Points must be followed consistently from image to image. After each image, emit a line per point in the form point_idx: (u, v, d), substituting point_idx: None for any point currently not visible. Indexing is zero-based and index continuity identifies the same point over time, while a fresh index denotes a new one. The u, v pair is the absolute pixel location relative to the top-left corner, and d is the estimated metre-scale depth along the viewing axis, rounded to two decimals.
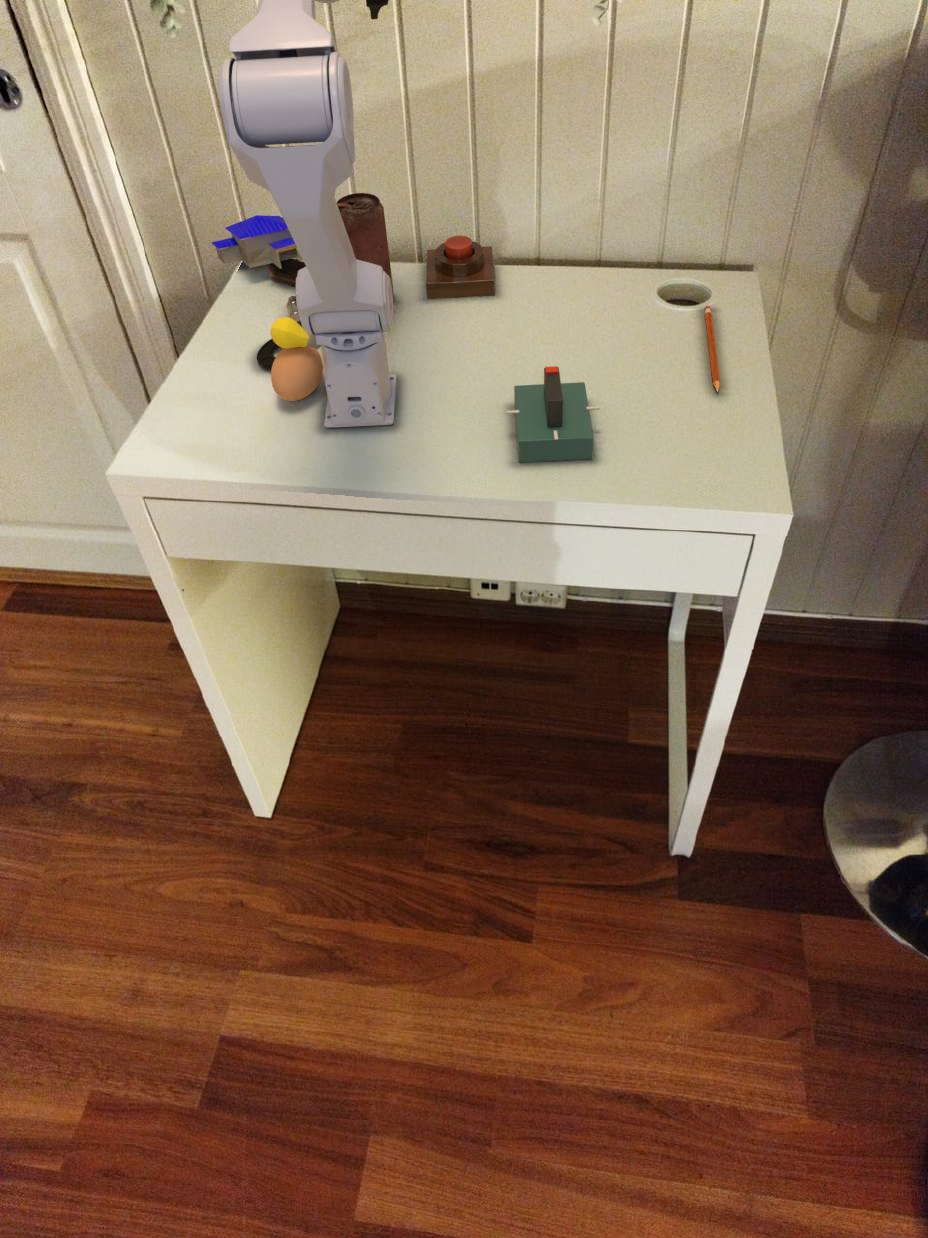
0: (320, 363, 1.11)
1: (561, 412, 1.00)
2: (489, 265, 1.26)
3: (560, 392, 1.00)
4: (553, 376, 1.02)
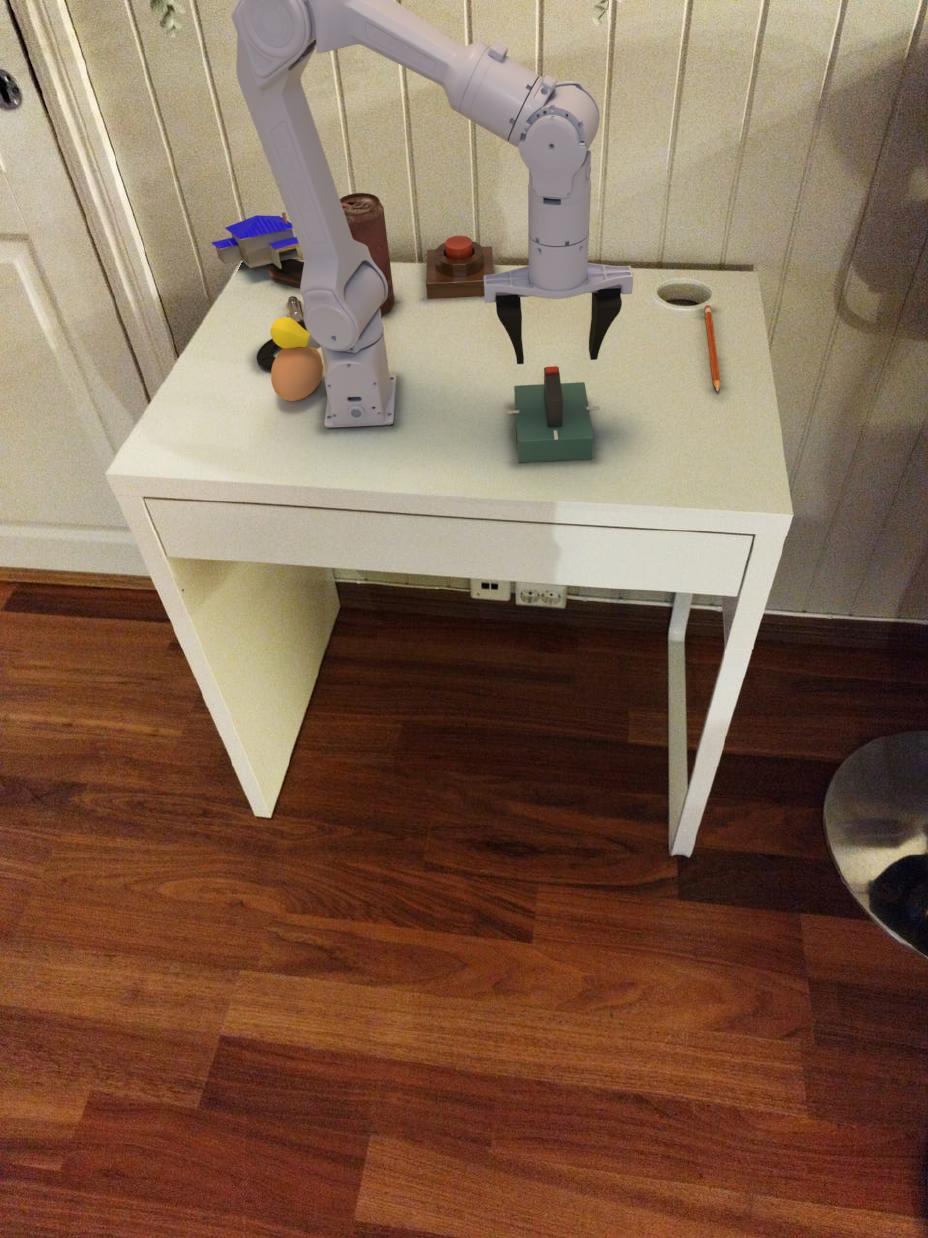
0: (320, 363, 1.11)
1: (561, 412, 1.00)
2: (489, 265, 1.26)
3: (560, 392, 1.00)
4: (553, 376, 1.02)
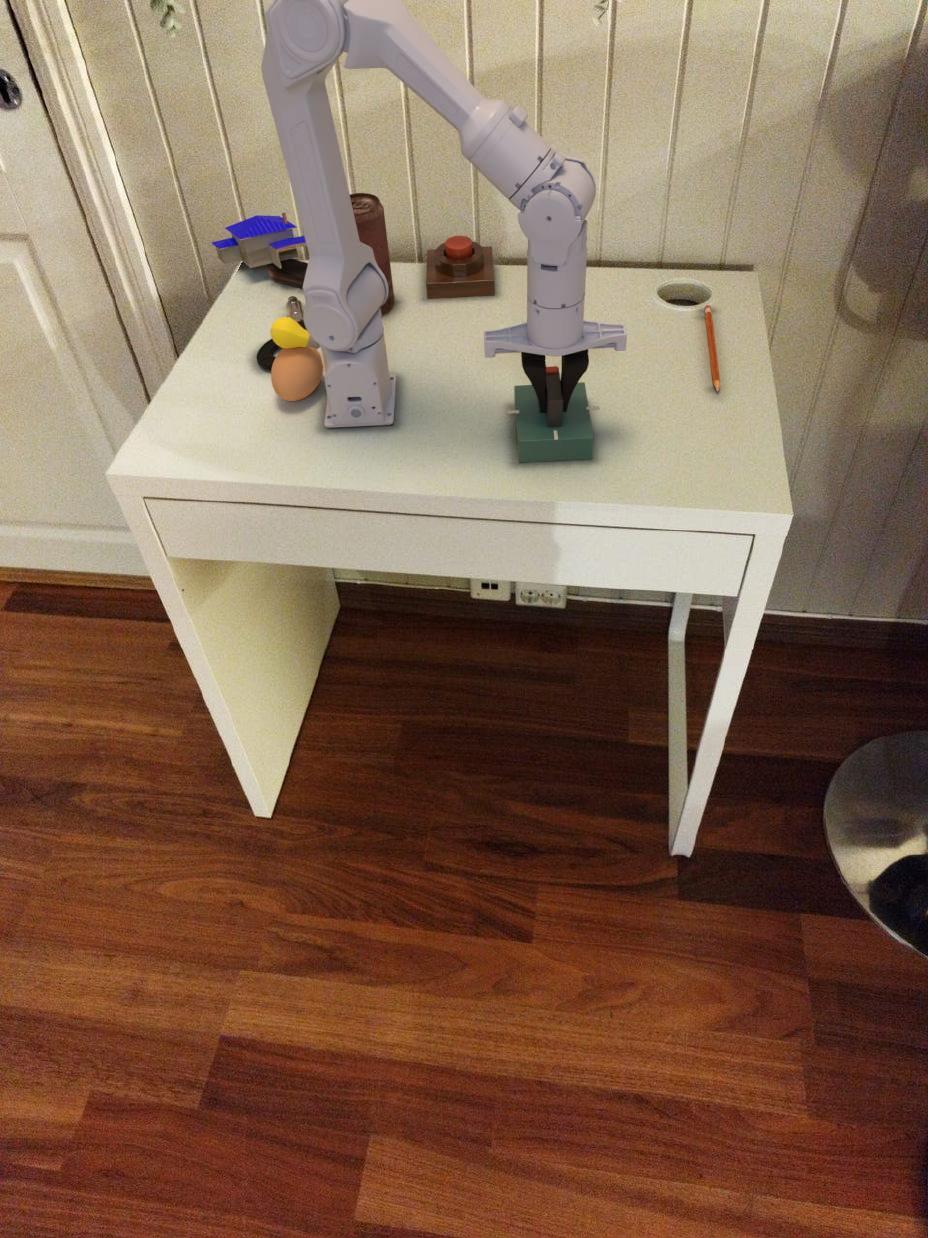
0: (320, 363, 1.11)
1: (561, 412, 1.00)
2: (489, 265, 1.26)
3: (560, 392, 1.00)
4: (553, 376, 1.02)
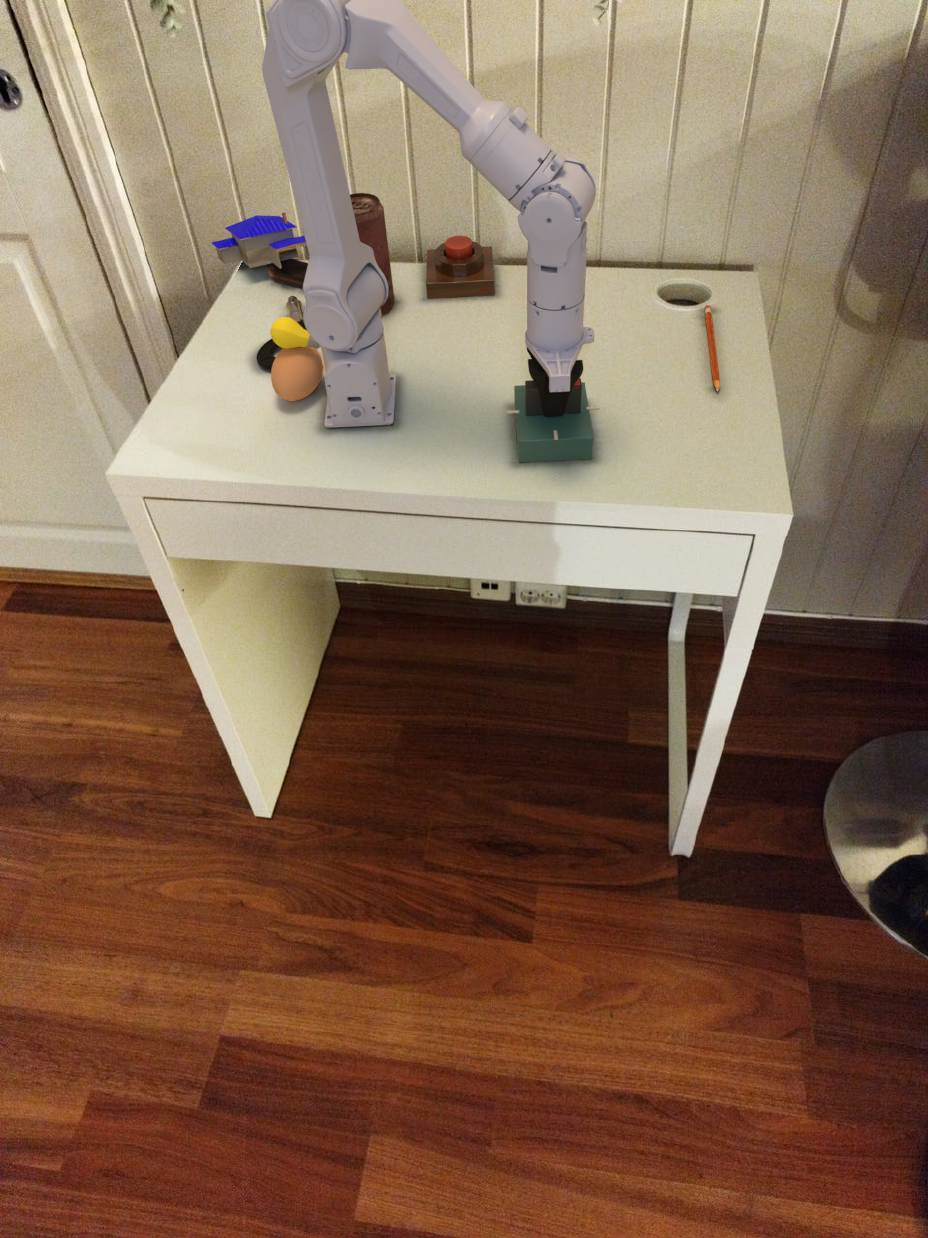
0: (320, 363, 1.11)
1: (525, 400, 1.02)
2: (489, 265, 1.26)
3: None
4: None
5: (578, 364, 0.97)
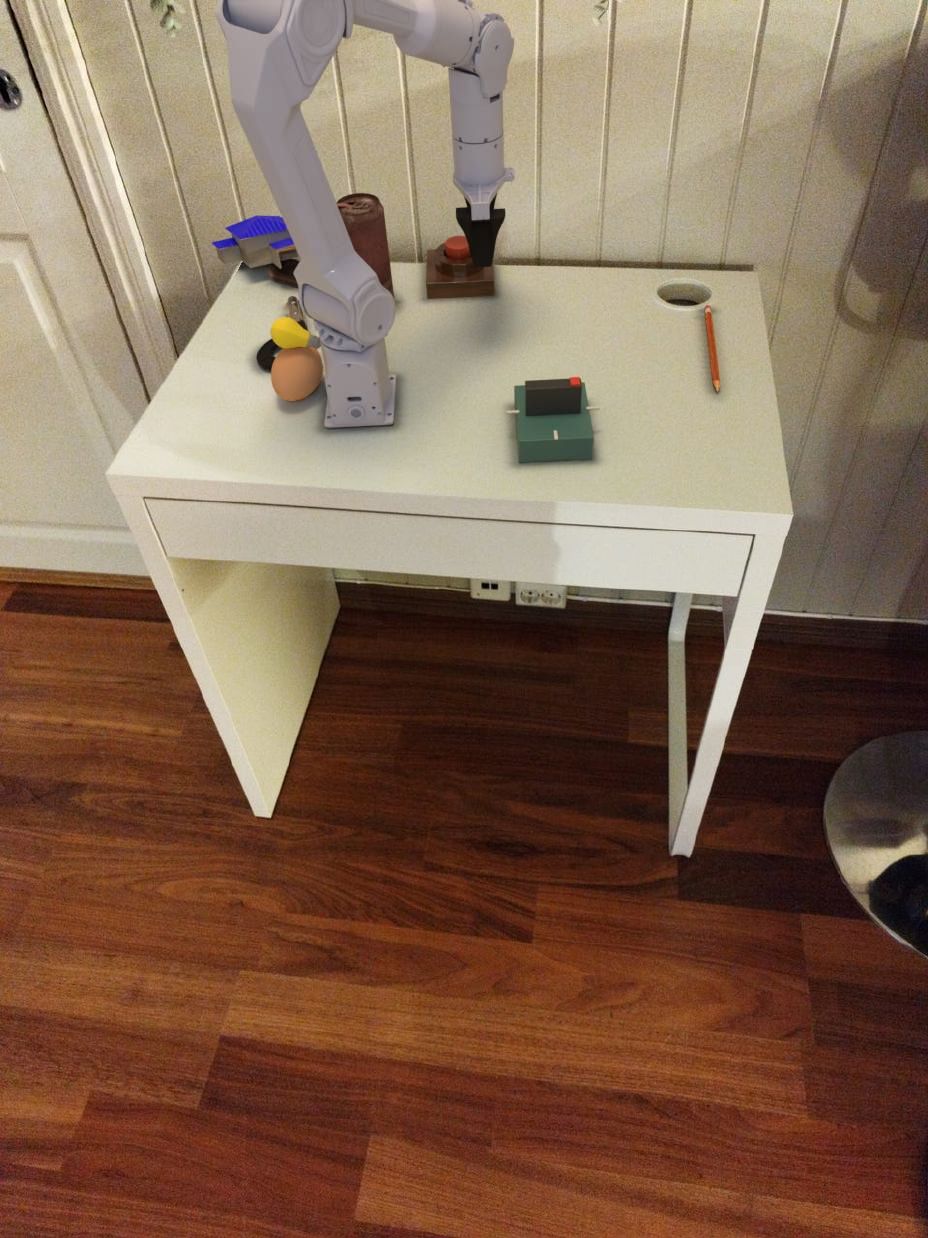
0: (320, 363, 1.11)
1: (525, 400, 1.02)
2: None
3: (538, 387, 1.01)
4: (564, 383, 1.01)
5: (501, 211, 1.06)
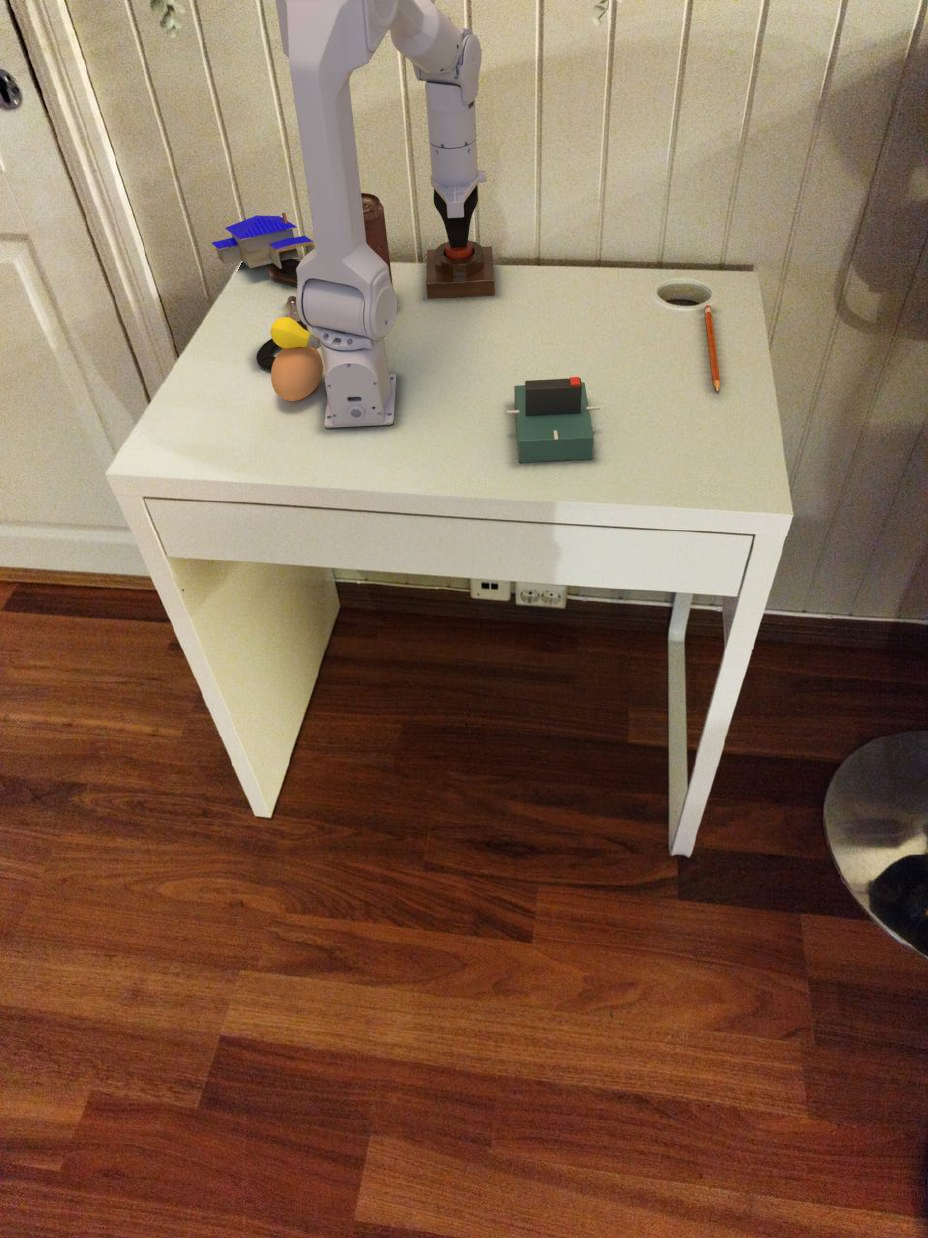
0: (320, 363, 1.11)
1: (525, 400, 1.02)
2: (489, 265, 1.26)
3: (538, 387, 1.01)
4: (564, 383, 1.01)
5: (474, 196, 1.19)
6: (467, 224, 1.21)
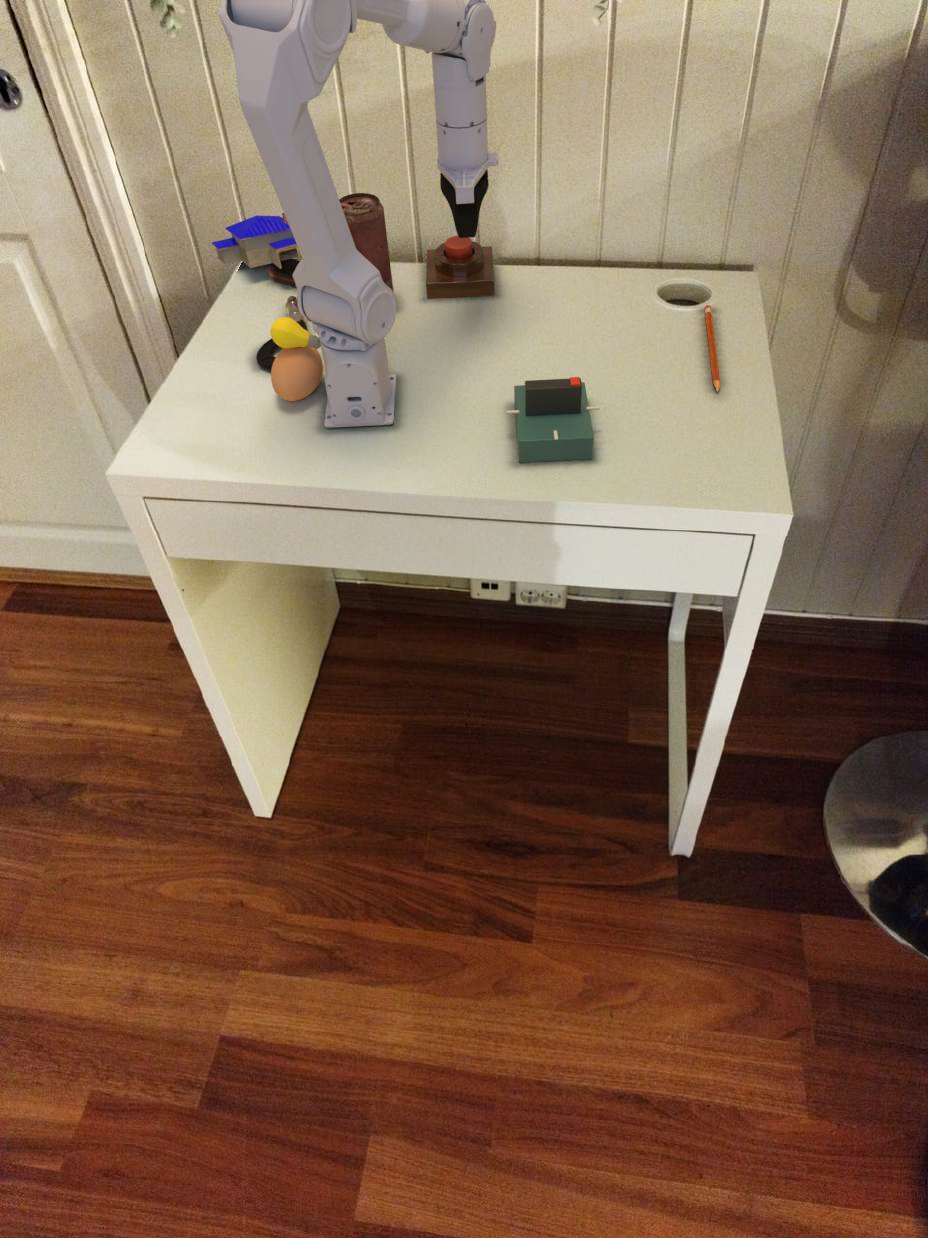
0: (320, 363, 1.11)
1: (525, 400, 1.02)
2: (489, 265, 1.26)
3: (538, 387, 1.01)
4: (564, 383, 1.01)
5: (484, 181, 1.09)
6: (476, 212, 1.12)
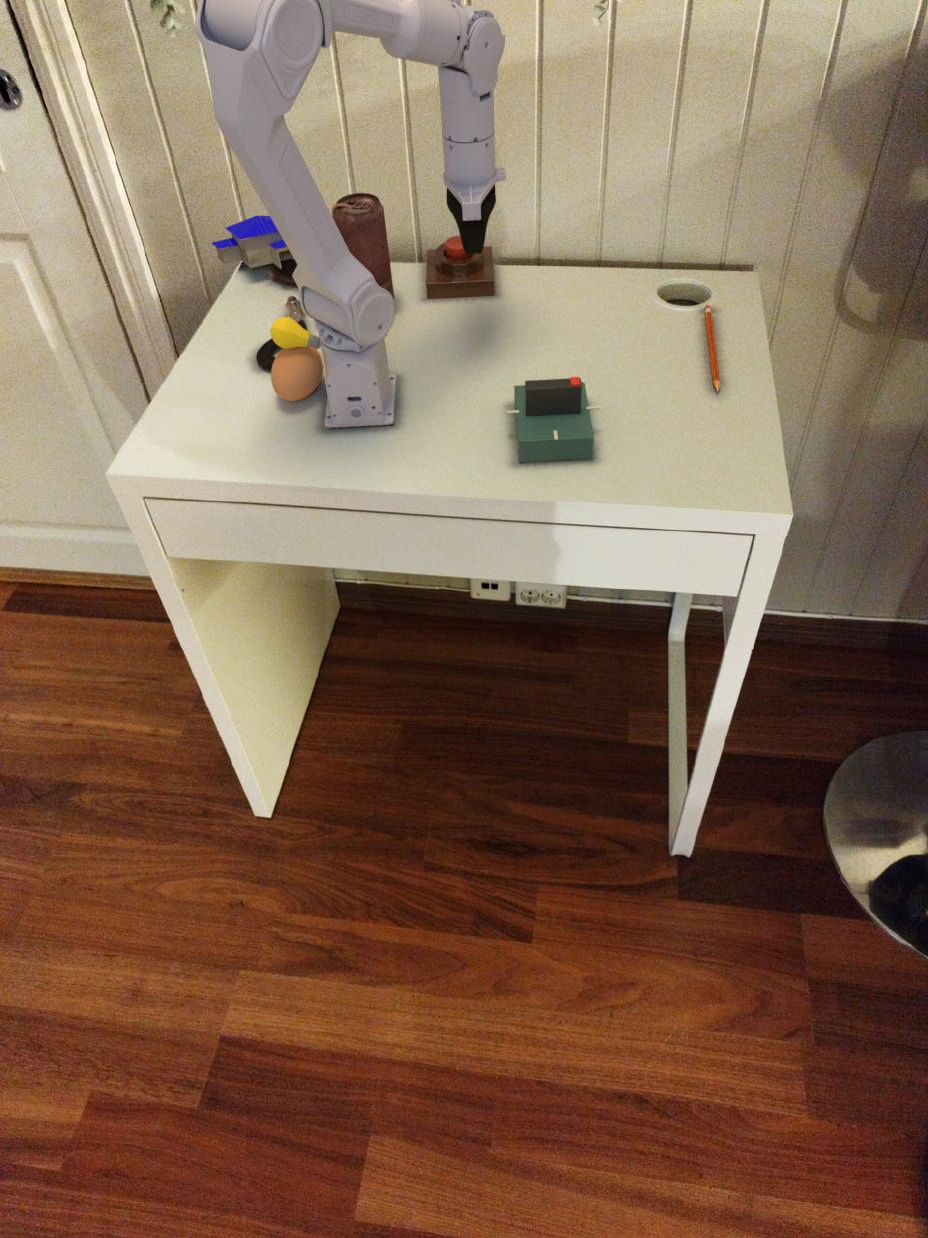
0: (320, 363, 1.11)
1: (525, 400, 1.02)
2: (489, 265, 1.26)
3: (538, 387, 1.01)
4: (564, 383, 1.01)
5: (491, 197, 1.06)
6: (483, 227, 1.09)
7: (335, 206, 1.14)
